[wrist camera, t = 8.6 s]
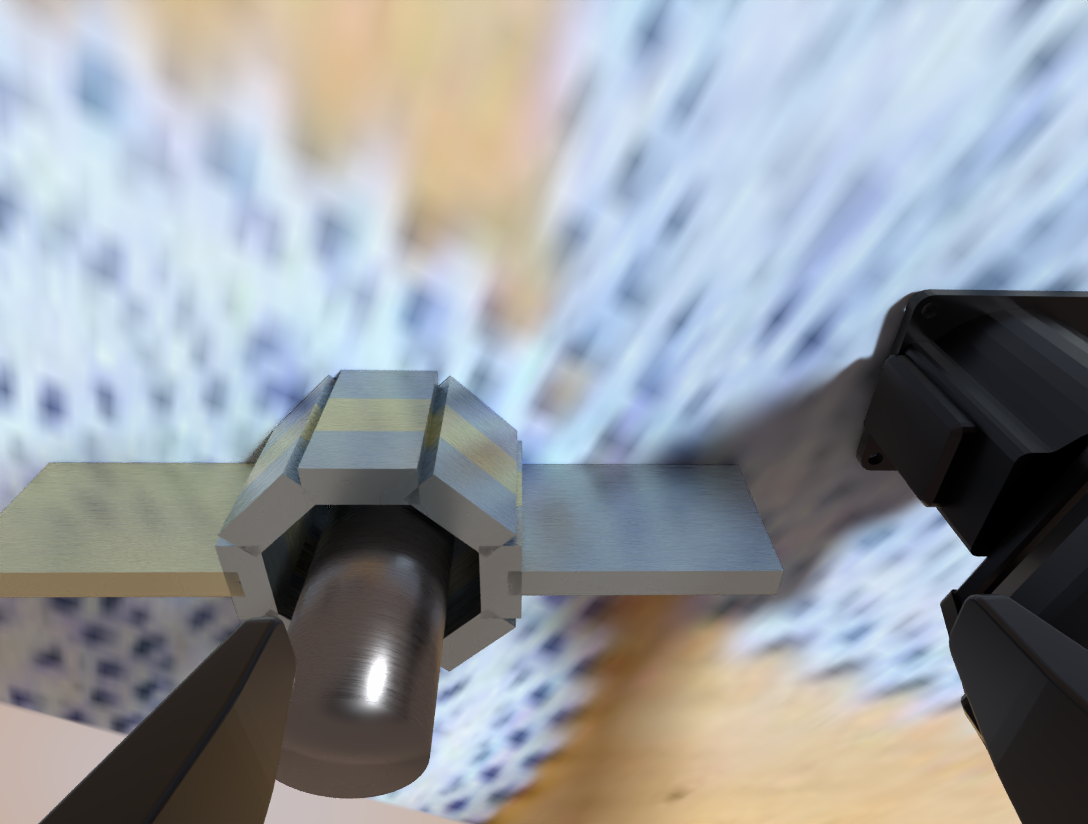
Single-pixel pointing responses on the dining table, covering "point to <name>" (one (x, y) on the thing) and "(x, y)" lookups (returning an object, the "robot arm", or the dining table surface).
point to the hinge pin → (367, 653)
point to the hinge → (388, 479)
